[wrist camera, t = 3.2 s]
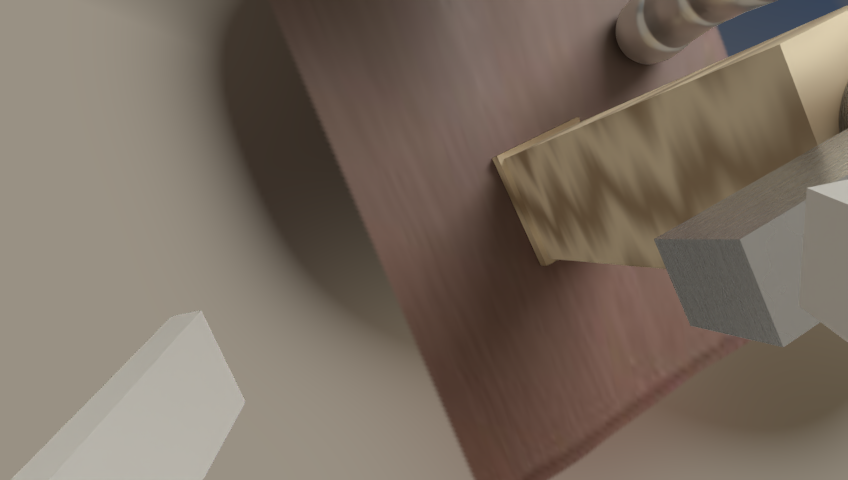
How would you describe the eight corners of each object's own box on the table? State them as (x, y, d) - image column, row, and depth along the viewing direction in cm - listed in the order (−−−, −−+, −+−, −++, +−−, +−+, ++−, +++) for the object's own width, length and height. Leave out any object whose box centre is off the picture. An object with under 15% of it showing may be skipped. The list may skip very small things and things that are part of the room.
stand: (491, 158, 44) (764, 36, 17) (571, 119, 45) (928, -44, 19) (540, 265, 45) (866, 303, 18) (616, 223, 46) (1011, 203, 20)
